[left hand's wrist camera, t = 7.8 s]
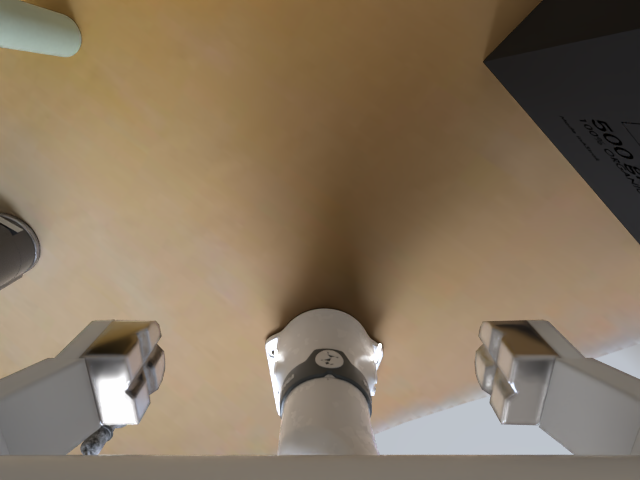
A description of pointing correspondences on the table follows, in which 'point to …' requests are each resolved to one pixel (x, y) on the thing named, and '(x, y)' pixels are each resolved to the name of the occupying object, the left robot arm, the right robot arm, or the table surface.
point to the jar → (37, 29)
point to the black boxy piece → (583, 91)
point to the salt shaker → (98, 439)
